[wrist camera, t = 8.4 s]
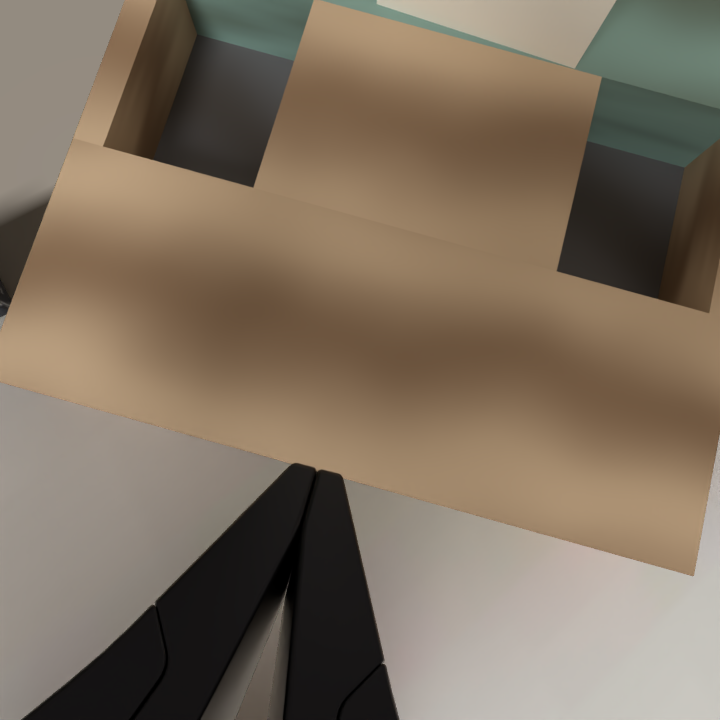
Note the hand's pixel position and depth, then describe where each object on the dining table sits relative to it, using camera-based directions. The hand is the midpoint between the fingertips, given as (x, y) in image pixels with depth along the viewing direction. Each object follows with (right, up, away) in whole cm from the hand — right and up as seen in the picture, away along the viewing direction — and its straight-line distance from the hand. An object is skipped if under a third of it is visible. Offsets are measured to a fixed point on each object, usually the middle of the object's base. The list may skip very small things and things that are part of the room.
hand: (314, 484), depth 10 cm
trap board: (+3, +8, +14) cm, 16 cm away
